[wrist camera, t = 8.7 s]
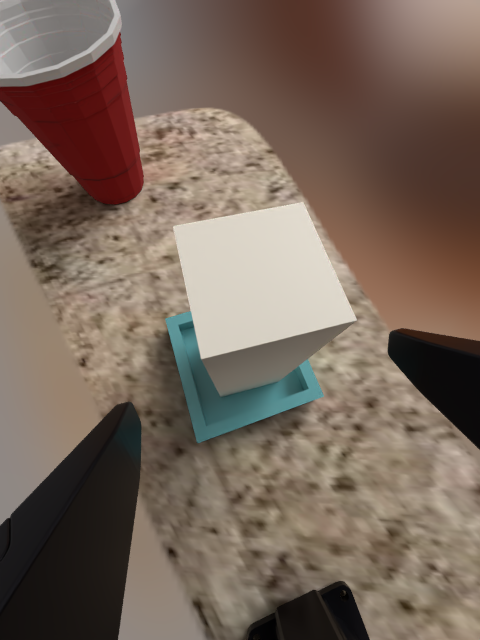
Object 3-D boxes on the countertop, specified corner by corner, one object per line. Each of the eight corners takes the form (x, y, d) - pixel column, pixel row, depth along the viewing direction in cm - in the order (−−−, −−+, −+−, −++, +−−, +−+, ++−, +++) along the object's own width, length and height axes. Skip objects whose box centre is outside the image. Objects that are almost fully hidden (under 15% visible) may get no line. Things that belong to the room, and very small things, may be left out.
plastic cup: (66, 152, 28) (-42, -22, 17) (164, 146, 29) (122, -24, 18) (54, 230, 24) (-96, 72, 13) (167, 220, 25) (117, 64, 14)
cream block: (278, 381, 19) (356, 320, 7) (220, 397, 19) (201, 359, 7) (261, 327, 21) (302, 202, 9) (207, 340, 20) (172, 226, 8)
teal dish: (315, 398, 20) (324, 396, 18) (200, 440, 18) (197, 443, 16) (272, 297, 23) (275, 286, 21) (171, 327, 21) (165, 318, 19)
